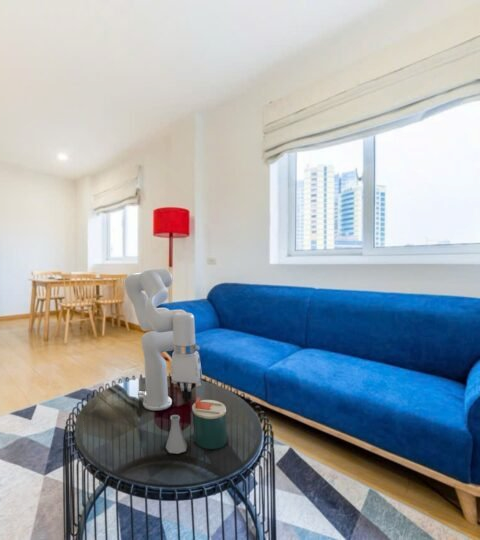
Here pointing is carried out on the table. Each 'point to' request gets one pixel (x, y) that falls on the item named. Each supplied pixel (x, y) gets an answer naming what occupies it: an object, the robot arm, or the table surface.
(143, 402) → the robot arm
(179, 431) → the flask
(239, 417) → the table surface
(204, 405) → the slider
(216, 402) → the sliding lid canister
